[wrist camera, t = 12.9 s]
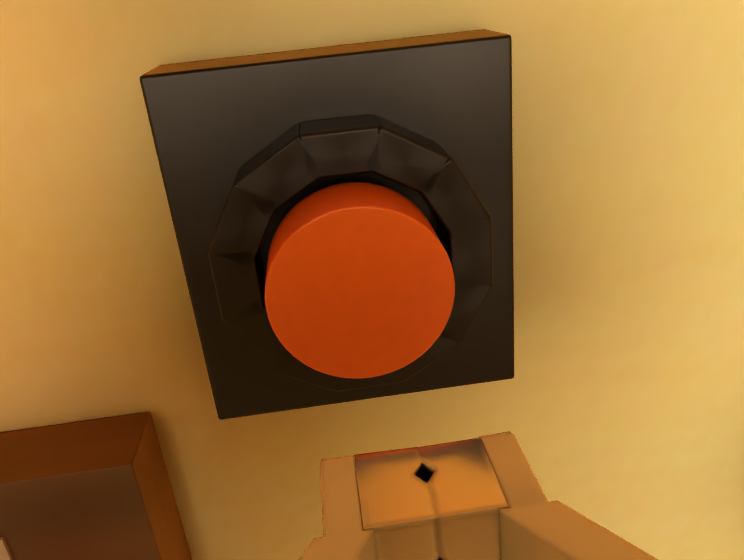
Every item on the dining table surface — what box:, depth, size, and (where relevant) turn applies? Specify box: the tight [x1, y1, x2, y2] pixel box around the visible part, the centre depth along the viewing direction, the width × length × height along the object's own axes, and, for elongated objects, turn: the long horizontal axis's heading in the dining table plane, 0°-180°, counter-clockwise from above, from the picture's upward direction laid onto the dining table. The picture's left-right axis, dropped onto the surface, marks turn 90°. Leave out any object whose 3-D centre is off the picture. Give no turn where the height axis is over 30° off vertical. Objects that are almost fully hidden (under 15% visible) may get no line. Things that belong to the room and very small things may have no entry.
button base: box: [140, 29, 514, 420], centre depth 20 cm, size 11×10×4 cm
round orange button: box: [265, 182, 455, 379], centre depth 18 cm, size 5×5×2 cm
